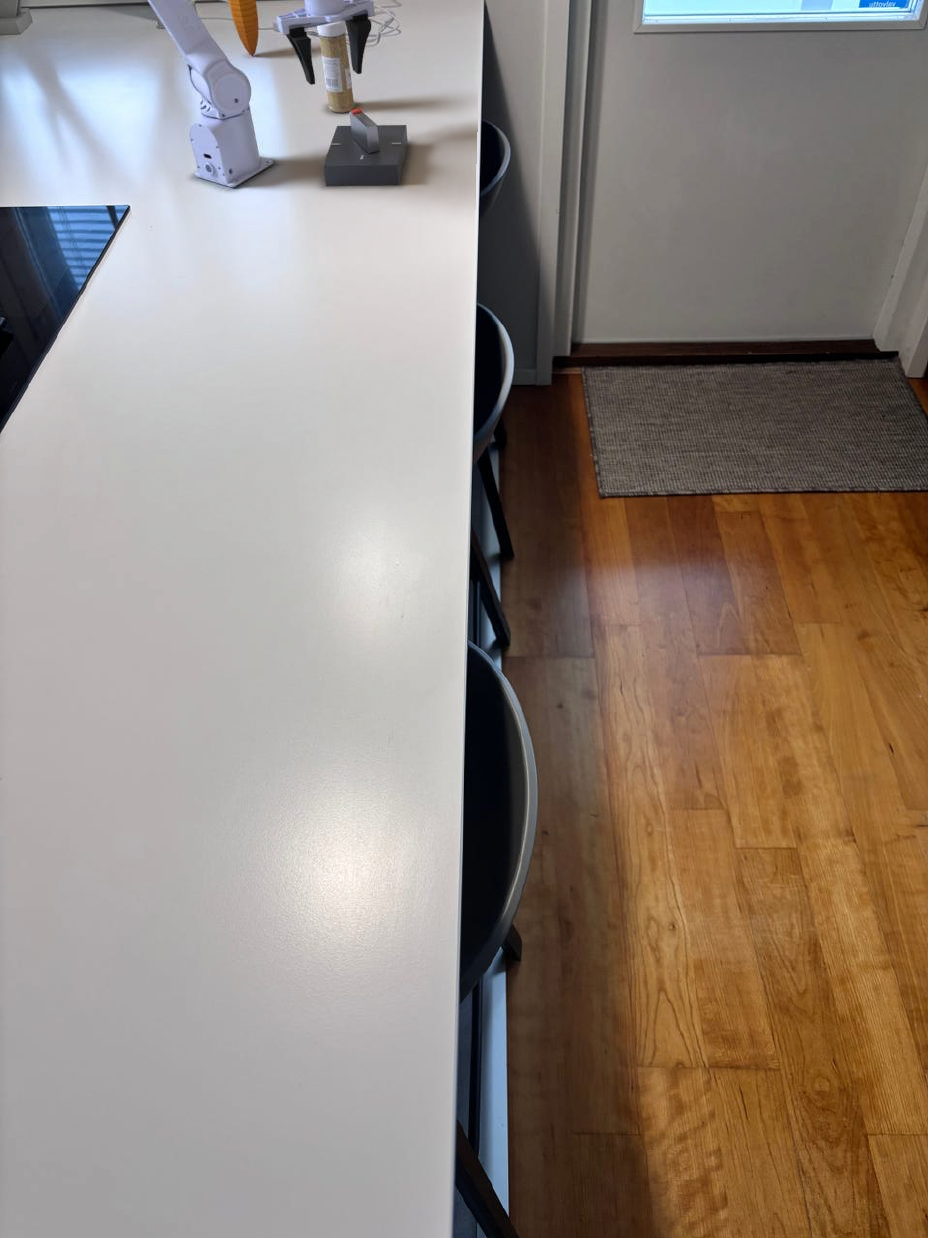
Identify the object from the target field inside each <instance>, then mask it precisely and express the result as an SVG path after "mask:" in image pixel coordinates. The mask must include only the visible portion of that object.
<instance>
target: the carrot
mask: <svg viewBox="0 0 928 1238" xmlns="http://www.w3.org/2000/svg"><path fill="white" fill-rule="evenodd" d="M227 1H228V5H229V9H230V15H231V18H232V21H233V24H234V27H235V30H236V32H237V36H238V38H239V39H240V41H241V44H242V45H243V47H244V48H245V50H246V51H247V53H248V54H249V55H250V56H251V57H254V55H255V54H256V51H257V47H258V43H259V42H258V41H259V13H258V7H257V1H256V0H227Z"/></svg>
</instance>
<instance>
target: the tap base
mask: <svg viewBox="0 0 928 1238" xmlns="http://www.w3.org/2000/svg"><path fill="white" fill-rule="evenodd" d="M377 128H378V138H379V148H380V151H377V152H373V153H368V152H367V151H366V150H365V149H364V148H363V147H362V146H361V145H360V144H358V143H357V142H356V141H355V140H354V139H353V138H352V131H351V125H337V126H336V128H335V130H334V133H333V136H332V139H331V141H330V145H329V147H328V150H327V154H326V157H325V160H324V162H323V166H322V167H323V173H324V175H323V176H324V181H325V186H326V187H342V186H343V187H344V186H345V187H349V186H351V187H352V186H353V187H355V186H356V187H357V186H358V187H359V186H361V187H362V186H363V187H364V186H367V187H368V186H399V185H400V182H401V178H402V173H403V168H404V164H405V160H406V159H405V158H406V154H407V151H408V145H409V140H408V129H407V124H377Z"/></svg>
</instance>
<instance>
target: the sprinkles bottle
mask: <svg viewBox="0 0 928 1238" xmlns="http://www.w3.org/2000/svg"><path fill="white" fill-rule="evenodd" d="M316 28H317V34H318V37H319V42H320V43H319V44H320V52H321V60H322V61H321V62H322V68H323V76H324V82H325V89H326V92H327V100H328V101H327V102H328V109H329V110H330V111H331V112H332V113H333V112H334V113H347V112H350V110H354V108H355V106H356V102H355V100H354V93H353V82H352V75H351V66H350V59H349V53H348V52H349V51H348V45H347V36H346V34H347V28H346V23H345V21H340V22H335V23H330V24H326V25H321V26H316Z"/></svg>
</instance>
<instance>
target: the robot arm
mask: <svg viewBox="0 0 928 1238" xmlns="http://www.w3.org/2000/svg"><path fill="white" fill-rule="evenodd" d="M146 1H147V2H148V4H149V5H150V7H151V8H152V9H153V12H154V14H156V16H157V17H158V19H159V21H160V22H161V24H162V25H163V27H164V29H165V30H166V31H167V33H168V34H169V36H170V37H171V39H172V41H173V42H174V44H175V45H176V46H177V48H178V51H179V54H180V57H181V58H182V60H183V62H184V63H185V65H186V68H187V71H188V73H187V74H188V77H189V81H190V83H191V85H192V87H193V88H194V89H195V90H196V91H197V92H198V93H199V94H200V100H199V110H200V113H199V116H198V118H197V120H196V121H194V122H193V124H192V125H191V126H190V128H189V140H190V145H191V148H192V152H193V156H194V160H195V164H196V168H197V171H196V172H195V177H197V178H200V179H203V180H206V181H209V182H212V183H217V184H219V185H223V186H226V187H229V188H235V187H237V186H238V185H240V184H242V183H244V182H245V181H247V180H248V179H250V178H252V177H254V176H255V175H257V174H258V173H260V172H262V171H263V170H265V169H267V168H268V167H270V166H272V165H273V164H274V161H273V160H272V159H270V158H266V157H262V156H260V152H259V151H260V150H259V146H258V141H257V140H258V139H257V136H256V131H255V125H254V120H253V116H252V110H251V105H250V101H251V99H252V86H251V85H252V84H251V82H250V80H249V78H248V76H247V75H246V74H245V73H244V72H243V70H241V69H239V68H237V67H236V66H235V65H233V64H232V63H231V61H230V60H229V58H228V56H227V55H226V53H225V52H224V51H223V49H222V48H221V47H220V46H219V44H218V43H217V42H216V40H215V39H214V38H213V37H212V35H211V33H210V32H209V30H208V29H207V27H206V26H205V24H204V23H203V21H202V19H201V17H200V15H199V13H198V12H197V11H196V9H195V8H194V5H193V4H192V3H191V1H190V0H146ZM375 16H376V13H375V2H374V0H304V6H303V7H302V8H299V9H296V10H293V11H291V12H290V11H289V12H288V13H285V14H282V15H281V14H280V15H276V23H277V28H278V32H279V33H280V34H281V35H283V36H286V38H287V40H288V41H289V43H290V45H291V47H292V49H293V50H294V53H295V54H296V56H297V58H298V60H299V63H300V65H301V68H302V70H303V73H304V77H305V80H306V82H307V83H308V84H309V85H311V86H313V85H316V76H315V70H314V65H313V58H312V57H313V56H312V38H310V37H309V36H308V32H307V31H305V30H306V29H310V28H315V27H316V28H317V26H321V25H326V24H330V23H335V22H340V21H345V24H346V33H347V38H348V42H349V49H350V50H349V51H350V52H349V53H350V63H351V68H352V71H353V72H354V73H355V74H357V75H361V74H362V73H363V62H364V54H365V49H366V45H367V41H368V39H369V37H370V33H371V31H372V20H370V19H369V18H372V17H375Z"/></svg>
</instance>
